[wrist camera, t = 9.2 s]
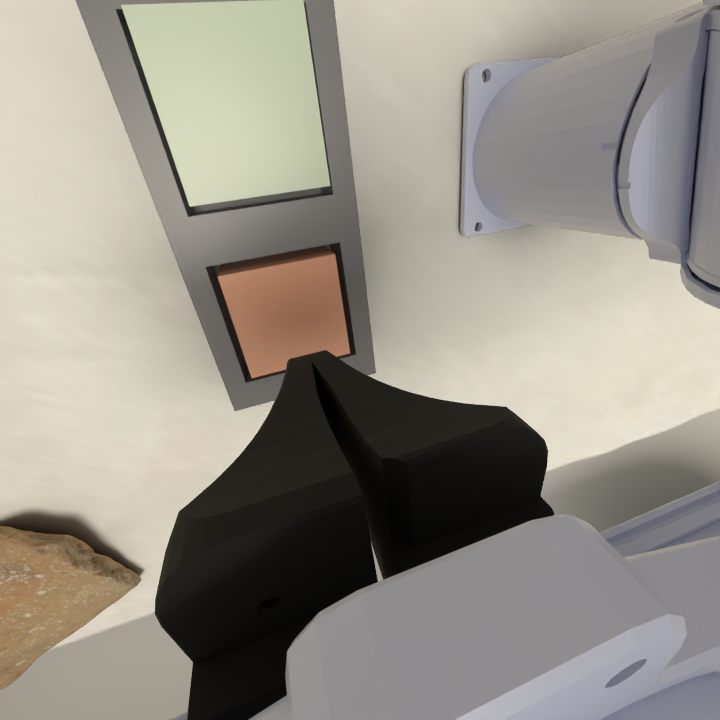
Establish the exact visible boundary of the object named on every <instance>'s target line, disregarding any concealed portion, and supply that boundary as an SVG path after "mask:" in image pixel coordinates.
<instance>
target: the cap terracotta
mask: <svg viewBox="0 0 720 720" xmlns="http://www.w3.org/2000/svg"><path fill="white" fill-rule="evenodd" d="M218 279H219V282H220V285H221V288H222V291H223V294H224V297H225V300H226V303H227V306H228V309H229V312H230V315H231V318H232V321H233V324H234V327H235V330H236V333H237V336H238V339H239V342H240V345H241V348H242V351H243V354H244V357H245V360H246V363H247V366H248V369H249V372H250V375H251V378H255V377H259V376H263V375H267V374H270V373H274V372H278V371H282V370H286V366H287V362H288V360H289V359H291V358H295V357H299V356H303V355H307V354H312V353H316V352H320V351H324V350H327V351H329V352H330V353H332V354H333V355H335V356H336V357H337V356H341V355H345V354H349V353H350V348H349V342H348V335H347V329H346V322H345V315H344V309H343V302H342V296H341V289H340V283H339V276H338V270H337V263H336V257H335V254H334V253H333V252H332V251H330V250H329V249H328V248H326V247H325V246H319V247H313V248H308V249H303V250H297V251H292V252H286V253H281V254H275V255H270V256H265V257H259V258H254V259H248V260H243V261H237V262H232V263H226V264H221V266H220V270H219V273H218Z"/></svg>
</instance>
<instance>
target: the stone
mask: <svg viewBox="0 0 720 720" xmlns="http://www.w3.org/2000/svg"><path fill="white" fill-rule="evenodd" d="M140 581H141V578H140V577H139V575H138V574H137V573H135V572H134V571H132V570H131V569H127V568H126V567H124V566H123V565H121V564H120V563H118V562H116V561H114V560H113V559H112V558H110V557H108V556H105V555H100V554H96V553H95V552H94V551H93V549H92V548H91V547H90V546H89V545H88V544H86V543H85V542H83V541H81V540H78V539H77V538H76V537H73V536H70V535H59V534H44V533H36V532H33V531H23V530H19V529H15V528H12V527H6V526H0V690H2V689H3V688H5V687H7V686H9V685H10V684H12V683H13V682H14V681H15V680H16V679H18V678H19V677H20V676H21V675H22V674H23V673H24V672H25V671H26V670H27V669H28V668H29V667H30V666H31V665H32V663H33V662H34V661H35V660H36V659H37V658H39V657H40V656H41V655H42V654H44V653H45V652H46V651H48V650H49V649H50V648H52V647H53V646H55V645H56V644H58V643H59V642H61V641H62V640H63V639H65V638H67V637H68V636H70V635H71V634H73V633H74V632H75V631H77V630H78V629H80V628H81V627H83V626H84V625H86V624H87V623H88V622H89V621H91V620H92V619H93V618H94V617H96V616H97V615H98V614H99V613H101V612H102V611H103V610H104V609H106V608H107V607H109V606H110V605H112V604H113V603H115V602H116V601H118V600H119V599H120V598H121V597H123V596H124V595H125V594H126V593H128V592H129V591H130V590H131V589H132V588H134V587H135V586H137V585H138V584H139V582H140Z"/></svg>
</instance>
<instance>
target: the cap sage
mask: <svg viewBox="0 0 720 720" xmlns="http://www.w3.org/2000/svg"><path fill="white" fill-rule="evenodd" d="M121 7H122V10H123V13H124V15H125V18H126V21H127V24H128V27H129V30H130V33H131V36H132V39H133V42H134V45H135V48H136V51H137V54H138V57H139V59H140V62H141V65H142V68H143V71H144V74H145V77H146V80H147V83H148V86H149V89H150V92H151V95H152V98H153V101H154V103H155V106H156V109H157V112H158V115H159V118H160V121H161V124H162V127H163V130H164V133H165V136H166V139H167V142H168V144H169V147H170V150H171V153H172V156H173V159H174V162H175V165H176V168H177V171H178V174H179V177H180V180H181V183H182V186H183V188H184V191H185V194H186V197H187V200H188V203H189V206H190V207H191V206H198V205H205V204H211V203H218V202H225V201H232V200H238V199H245V198H252V197H259V196H266V195H272V194H279V193H286V192H293V191H299V190H306V189H313V188H320V187H327V186H330V179H329V172H328V166H327V159H326V152H325V145H324V138H323V131H322V124H321V118H320V111H319V104H318V97H317V90H316V83H315V76H314V69H313V63H312V56H311V49H310V42H309V35H308V28H307V21H306V14H305V8H304V1H303V0H258V1H227V2H195V3H163V4H131V5H121Z"/></svg>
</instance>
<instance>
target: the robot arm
mask: <svg viewBox="0 0 720 720" xmlns="http://www.w3.org/2000/svg"><path fill="white" fill-rule="evenodd" d="M483 71H484V72H485V73H486V81H485V82H483V80H482V72H483ZM476 223H478V228H477V230H475V225H476ZM534 224H535V225H542V226H549V227H556V228H563V229H570V230H577V231H584V232H591V233H598V234H605V235H612V236H619V237H626V238H633V239H640V240H645V242H646V244H647V246H648V249H649V258H651V259H656V260H661V261H667V262H672V263H678V264H681V271H680V274H681V279H682V282H683V284H684V286H685V287H686V289H687V290H688V291H689V292H690V293H691V294H692V295H693V296H695V297H696V298H698V299H700V300H701V301H703V302H705V303H706V304H709V305H711V306H714V307H716V308H719V309H720V0H703V2H701V3H699V4H696V5H694V6H691V7H689V8H686V9H684V10H681V11H679V12H676V13H673V14H671V15H668V16H666V17H663V18H661V19H658V20H656V21H653V22H651V23H648V24H645V25H643V26H640V27H638V28H635V29H633V30H630V31H628V32H625V33H623V34H620V35H618V36H615V37H612V38H610V39H607V40H605V41H602V42H600V43H597V44H595V45H592V46H590V47H587V48H585V49H582V50H579V51H577V52H574V53H572V54H569V55H567V56H564V57H552V58H540V59H527V60H514V61H502V62H489V63H477V64H475V65H472V66H470V67H469V68H468V69H467V71H466V74H465V79H464V112H463V148H462V184H461V220H460V231H461V234H462V235H463V236H465V237H473V236H478V235H483V234H488V233H493V232H499V231H504V230H509V229H514V228H519V227H524V226H529V225H534ZM547 457H548V449H547V446H546V443H545V440H544V439H543V438H542V437H541V436H540V435H539V434H538V433H537V432H536V431H535V430H534V429H532V428H531V427H530V426H529V425H528V424H527V423H525V422H524V421H523V420H522V419H521V418H520V417H518V416H517V415H516V414H515V413H513V412H512V411H511V410H510V409H508V408H507V407H500V406H487V405H474V404H464V403H458V402H451V401H445V400H439V399H434V398H430V397H426V396H422V395H418V394H414V393H410V392H407V391H404V390H401V389H398V388H395V387H392V386H390V385H387V384H384V383H382V382H380V381H377V380H375V379H373V378H371V377H369V376H367V375H365V374H363V373H361V372H360V371H358V370H356V369H354V368H353V367H351V366H350V365H348V364H346V363H345V362H343V361H342V360H340V359H339V358H337V357H336V356H335V355H333V354H332V353H330V352H329V351H327V350H324V351H320V352H316V353H312V354H307V355H303V356H299V357H295V358H291V359H289V360H288V362H287V366H286V372H285V376H284V379H283V382H282V385H281V388H280V391H279V393H278V396H277V398H276V400H275V402H274V404H273V406H272V409H271V411H270V413H269V414H268V416H267V418H266V420H265V421H264V423H263V425H262V426H261V428H260V429H259V431H258V432H257V434H256V435H255V437H254V438H253V439H252V441H251V442H250V443H249V445H248V446H247V447H246V448H245V450H244V451H243V452H242V453H241V454H240V456H239V457H238V458H237V459H236V460H235V461H234V462H233V463H232V464H231V465H230V466H229V467H228V468H227V469H226V470H225V471H224V472H223V473H222V474H221V475H220V476H219V477H218V478H217V479H216V480H215V481H214V482H213V483H212V484H211V485H210V486H209V487H207V488H206V489H205V490H204V491H203V492H202V493H200V494H199V495H198V496H197V497H196V498H195V499H194V500H192V501H191V502H190V503H189V504H188V505H187V506H185V507H184V508H183V509H182V510H180V511H179V513H178V516H177V519H176V522H175V525H174V528H173V531H172V533H171V536H170V539H169V542H168V546H167V549H166V552H165V557H164V561H163V566H162V571H161V575H160V580H159V585H158V590H157V594H156V599H155V615H156V617H157V619H158V621H159V623H160V625H161V626H162V628H163V629H164V630H165V631H166V632H167V633H168V634H169V636H170V637H171V638H172V639H173V640H174V641H175V642H176V643H177V645H178V646H179V647H180V648H181V649H182V650H183V651H184V653H185V654H186V655H187V656H188V657H189V658H190V659H191V660H192V662H193V669H192V678H191V688H190V697H189V707H188V711H187V712H185V713H183V714H180V715H178V716H176V717H173V718H171V719H169V720H720V481H719V482H716V483H714V484H712V485H709V486H707V487H705V488H703V489H700V490H698V491H695V492H693V493H691V494H689V495H686V496H684V497H682V498H679V499H677V500H675V501H672V502H670V503H668V504H665V505H663V506H661V507H659V508H656V509H654V510H652V511H650V512H647V513H645V514H642V515H640V516H638V517H635V518H633V519H631V520H628V521H626V522H624V523H622V524H619V525H617V526H615V527H613V528H610V529H608V530H605V531H603V532H601V533H598V532H597V531H596V530H595V529H594V528H593V527H592V526H591V525H590V524H589V523H587V522H585V521H583V520H581V519H578V518H576V517H574V516H572V515H563V514H559V515H554V512H553V510H552V508H551V507H550V506H549V505H548V504H547V503H546V502H545V501H544V500H543V499H542V497H541V496H540V495H541V490H542V486H543V481H544V476H545V472H546V468H547ZM553 515H554V516H553ZM371 543H372V546H373V549H374V552H375V555H376V558H377V562H378V565H379V568H380V571H381V574H382V577H383V580H382V581H379V582H378V580H377V575H376V569H375V563H374V558H373V552H372V546H371Z"/></svg>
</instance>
